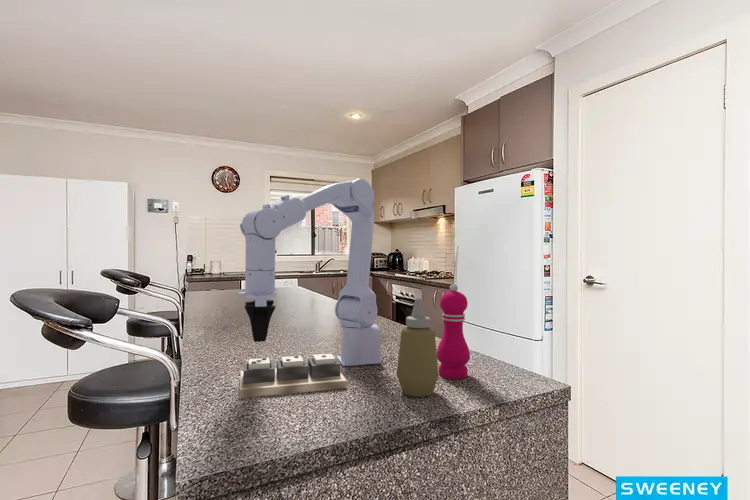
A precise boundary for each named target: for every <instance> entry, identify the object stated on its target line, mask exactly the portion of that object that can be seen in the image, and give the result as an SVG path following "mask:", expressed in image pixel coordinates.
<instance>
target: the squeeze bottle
mask: <svg viewBox="0 0 750 500" xmlns="http://www.w3.org/2000/svg"><path fill="white" fill-rule="evenodd" d="M423 306H424V305H423V301H422V298H420V297H419V298H417V297H416V298H415V299H414V303H413V307H412V312H411V316H409V315H408V316H406V318H405V326H406V327H404V328H402V329H401V331H400V341H399V351H398V358H397V360H398V361H397V368H396V376H397V379H398V382H399V385H400V390H401V392H402V393H403V394H405V396H410V397H415V398H416V397H417V398H423V397H424V398H425V397H428V396H431V395H432V394H433V393H434V390H435V388H436V386H437V385H436V384H437V382H438V378H439V376H440V375H439V365H438V364H439V363H438V359H437V343H436V341H437V340H436V332H435V330H434V329H432V328H430V327H431V317H429V316H425V310H424V307H423Z"/></svg>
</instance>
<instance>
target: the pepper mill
mask: <svg viewBox="0 0 750 500" xmlns="http://www.w3.org/2000/svg"><path fill="white" fill-rule="evenodd" d="M458 289H459V287H458V285H457V284H454V283H453V284H450V286H449V291H446V292H445V293H443V294H442V295H441V297H440V299H439V307H440V309H441V310H442V311H443V312H442V314H441V316H442V317H441V320H442V321H443V325H444V327H443V334H442V337H441V339H440V341H439V344H438V345H437V347H436V352H437V361H438V362H439V363H440V364H439V365H438V374H439V376H440V377H442V378H446V379H450V380H461V379H465V378H467V377H468V367H467V366H466V365H467V364H468V363H469V361H470V358H471V355H470V348H469V346H468V343H467V341H466V339H465V336H464V332H463V331H464V329H463V327H464V321H465V320H466V318H465V316H466V313H465V311H466V310H467V309H468V299H467V297H466V295H465V294H463V293H462V292H461V291H458Z"/></svg>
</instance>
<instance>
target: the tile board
mask: <svg viewBox="0 0 750 500" xmlns="http://www.w3.org/2000/svg"><path fill="white" fill-rule="evenodd" d="M334 357H335V363H332V364H319V365H314V363H313V357H309V358H307V360H306V359H305V358H302V359H303V366H292V367H281V364H282V359H280V360H276V367H275V361H274V360H270V368H265V369H252V370H249V361H248V362H243V370H240V381H239V396H238V397H239V399H245V398H246V399H248V398H255V397H256V398H257V397H258V398H259V397H266V396H275V395H276V396H277V395H289V394H298V392H300V393H308V392H309V391H310V392H317V391H318V392H320V391H330V390H340V389H347V388H348V387H347V385H348V383H347V382H348V381H347V379H346V377H345V376H344V374H342V372H341V365H342V364H341V363H340V362H339V360H338V359H337V356H334ZM288 393H289V394H288Z"/></svg>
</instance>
